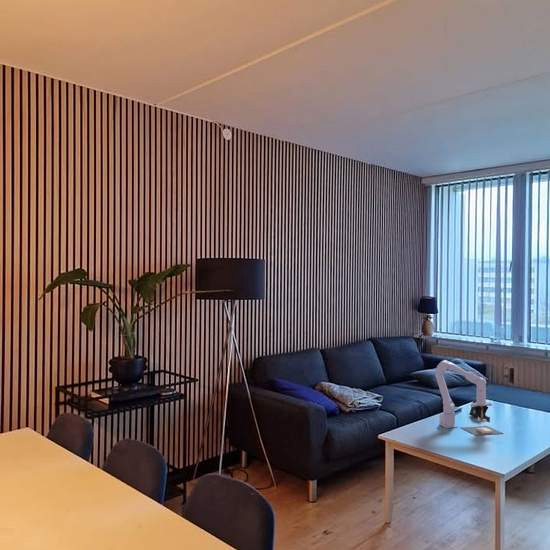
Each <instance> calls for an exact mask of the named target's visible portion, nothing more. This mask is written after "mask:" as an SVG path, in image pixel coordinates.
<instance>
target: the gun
mask: <svg viewBox="0 0 550 550" xmlns="http://www.w3.org/2000/svg"><path fill="white" fill-rule="evenodd" d="M476 402H477V397H473V398H472V403H476ZM468 415H469V416H471V417H473V418H474V419H479V417H478V415H477V412H476V409H475V408H474V407H471V406H470V410H469V413H468ZM483 419H484V420H485V421H487V422H489V421H490V420H491V417H490V416H487V415H486V414H485V417H483Z"/></svg>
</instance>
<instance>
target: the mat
mask: <svg viewBox="0 0 550 550" xmlns="http://www.w3.org/2000/svg"><path fill="white" fill-rule="evenodd" d="M485 427H486V428H488V429H490V430H492V431H493V433H485V434H483V433H481V432H479V431H477V430H476V428H485ZM460 428H461V429H462V430H463V431H466V432H468V433H469V434H472V435H474V436H477V437H478V436H491V435H503V434H504V433H503V432H501V431H499V430H497V429H495V428H492V427H491V426H489V425H483V426H482V425H481V426H478V425H477V426H464V427H460Z"/></svg>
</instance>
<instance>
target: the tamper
mask: <svg viewBox="0 0 550 550" xmlns="http://www.w3.org/2000/svg"><path fill="white" fill-rule="evenodd" d="M480 407H481V408H482V410H481V418H479V417H478V418H476V421H477V422H479V423H486V419H483V407H482V406H480Z"/></svg>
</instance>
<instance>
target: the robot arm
mask: <svg viewBox="0 0 550 550" xmlns="http://www.w3.org/2000/svg"><path fill="white" fill-rule="evenodd" d="M447 370H448V371H454V372H456V373H458V374H460V375H462V376H464V377H465V379H466V380H467V381H469V382H470V383H473V384H474V385H475V386H476V398H477V402H476V403H470V408H471V407H474V408H475V409H476V412H477V415H478V419H479V418H481V410H482V408H481V407H480V406H482V407H483V417H485V415H486V413H487V410H488V409H489V407H491V406H493V405H492V404H493V403H492V402H487V390H486V389H487V386H486V385H487V380H486V379H485V378H484V377H483V376H482V377H481V376H480V375H477V374H475V373H474V371H466V370H464V369H463V368H461V367H460V366H458V365H456V364H455V363H453V362H451V361H449V360H447V359H443V360H442V361H440V362H439V363H438V364H437V366H436V370H435V372H434V376H435V378H436V381H437V386H438V387H439V392H440V394H441V399H442V405H443V407H442V409H443V412H442V413H439V423H438V425H439V426H440V427H443V428H447V429H448V428H449V429H450V428H458V425H456V424H455V423H456V422H455V421H456V412H455V409H456V405H455V403H454V402H453V400H452V398H451V396H450V394H449V389H448V387H447V383H446V380H445V377H444V374H445V373H446V371H447Z"/></svg>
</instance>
